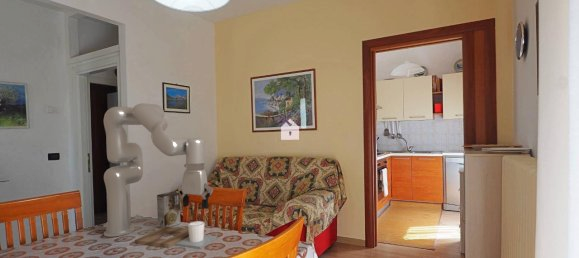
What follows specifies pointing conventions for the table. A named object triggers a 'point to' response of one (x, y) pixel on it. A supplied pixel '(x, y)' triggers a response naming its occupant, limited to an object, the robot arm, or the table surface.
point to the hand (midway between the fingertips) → (195, 207)
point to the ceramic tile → (200, 244)
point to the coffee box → (168, 209)
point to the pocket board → (166, 243)
